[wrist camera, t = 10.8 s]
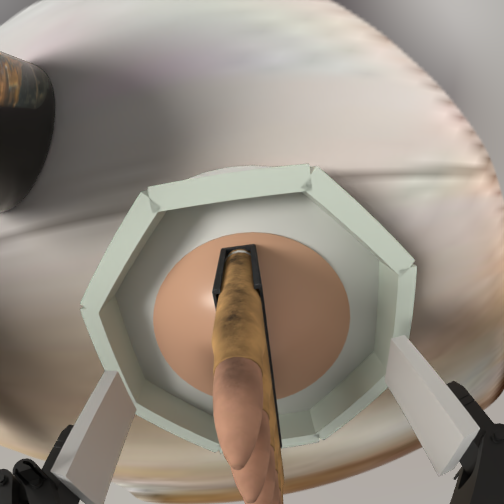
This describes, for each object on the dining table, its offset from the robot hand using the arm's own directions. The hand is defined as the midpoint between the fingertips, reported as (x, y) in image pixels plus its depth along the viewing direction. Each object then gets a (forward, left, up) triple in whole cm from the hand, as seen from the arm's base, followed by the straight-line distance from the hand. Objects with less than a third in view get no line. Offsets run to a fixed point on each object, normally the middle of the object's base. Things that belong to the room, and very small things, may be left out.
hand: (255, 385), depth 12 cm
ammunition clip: (0, 0, -5) cm, 5 cm away
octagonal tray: (0, 0, -7) cm, 7 cm away
